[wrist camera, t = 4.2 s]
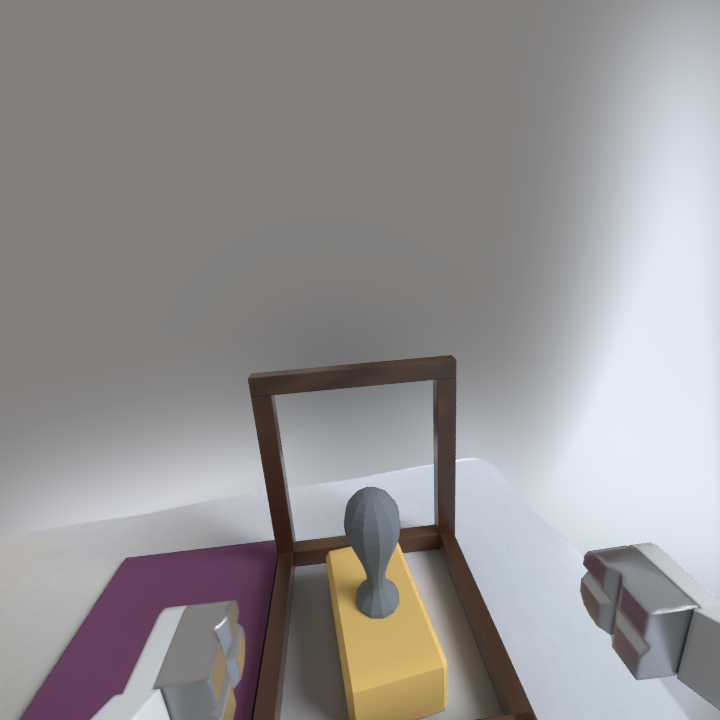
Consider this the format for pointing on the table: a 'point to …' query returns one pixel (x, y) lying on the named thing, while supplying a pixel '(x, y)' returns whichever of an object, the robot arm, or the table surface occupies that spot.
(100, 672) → the felt pad
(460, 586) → the stamp rack
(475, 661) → the table surface
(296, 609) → the table surface
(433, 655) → the rubber stamp
